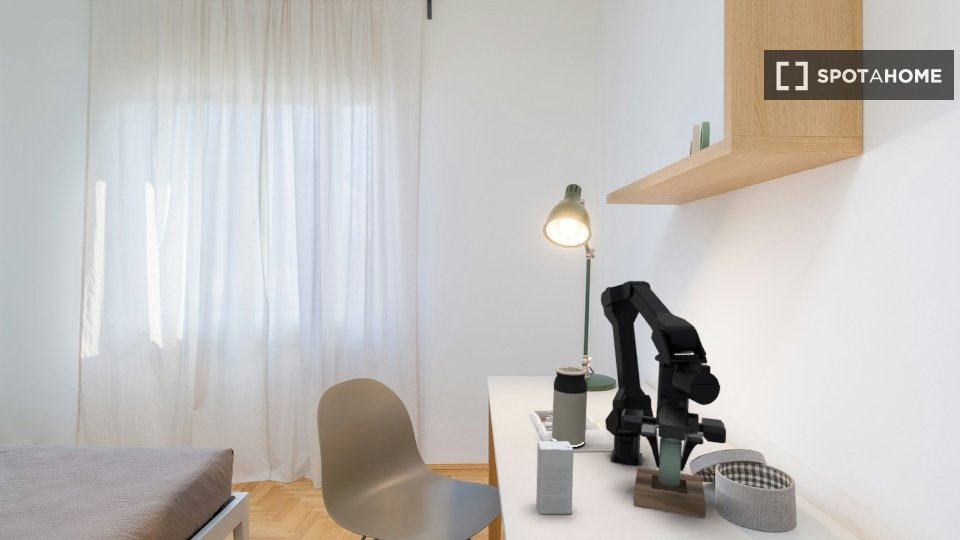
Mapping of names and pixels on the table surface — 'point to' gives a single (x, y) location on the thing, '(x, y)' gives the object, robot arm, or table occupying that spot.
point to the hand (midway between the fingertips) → (669, 468)
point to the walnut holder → (670, 493)
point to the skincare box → (554, 477)
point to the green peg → (670, 462)
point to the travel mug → (569, 405)
